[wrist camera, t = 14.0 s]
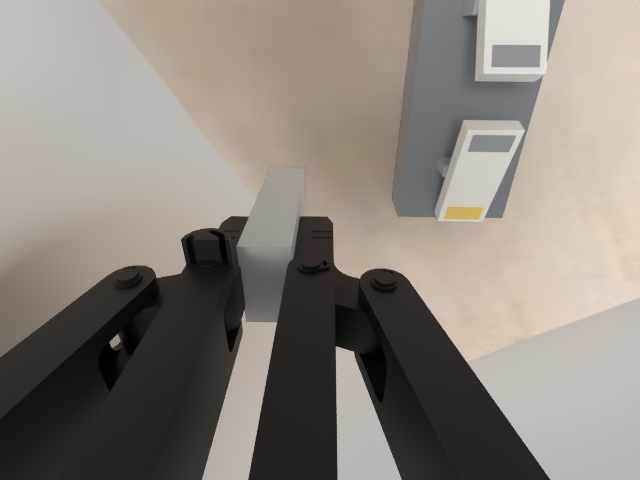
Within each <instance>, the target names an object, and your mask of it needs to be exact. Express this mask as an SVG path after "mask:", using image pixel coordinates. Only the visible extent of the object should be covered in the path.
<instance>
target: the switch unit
mask: <svg viewBox="0 0 640 480" xmlns="http://www.w3.org/2000/svg"><path fill="white" fill-rule="evenodd" d="M564 1H565V0H550V13H549V32H548V50H547V60H548V56H549V53H550V50H551V46H552V43H553V39H554V36H555V32H556V29H557V25H558V22H559V18H560V15H561V11H562V8H563V4H564ZM477 21H478V0H414V8H413V17H412V26H411V35H410V43H409V52H408V61H407V70H406V78H405V87H404V96H403V105H402V114H401V122H400V131H399V140H398V149H397V158H396V166H395V175H394V184H393V193H392V201H393V204H394V206H395V209H396V212H397V215H398V216H410V217H436V214H435V208H436V205H437V202H438V199H439V196H440V193H441V189H442V186H443V183H444V180H445V177H446V174H447V171H448V167H449V164H450V161H451V158H452V155H453V152H454V149H455V145H456V142H457V139H458V136H459V133H460V130H461V127H462V123H463V120H515V121H519V122H520V123H521V125H522V126H523V128H524V130H525V132H524V134H523V136H522V138H521V140H520V142H519V144H518V147H517V149H516V151H515V153H514V155H513V157H512V159H511V162H510V164H509V166H508V168H507V170H506V172H505V175H504V177H503V179H502V181H501V183H500V185H499V187H498V190H497V192H496V194H495V196H494V198H493V200H492V202H491V205H490V207H489V209H488V211H487V213H486V215H485V217H484V218H502V216H503V213H504V209H505V206H506V202H507V199H508V195H509V192H510V188H511V185H512V182H513V178H514V175H515V171H516V168H517V164H518V161H519V157H520V154H521V150H522V147H523V143H524V140H525V136H526V133H527V129H528V126H529V122H530V119H531V116H532V112H533V109H534V105H535V102H536V98H537V95H538V91H539V88H540V84H541V81H542V77H541V78H540V79H538V80H536V81H535V82H495V81H475V69H476V45H477Z"/></svg>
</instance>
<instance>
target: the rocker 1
mask: <svg viewBox="0 0 640 480" xmlns="http://www.w3.org/2000/svg"><path fill="white" fill-rule="evenodd" d="M549 13H550V0H478V21H477V45H476V69H475V81H495V82H535V81H536V80H538V79H540V78H541V77H543V76H544V75H546V69H547V50H548V32H549Z"/></svg>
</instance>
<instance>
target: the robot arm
mask: <svg viewBox="0 0 640 480" xmlns="http://www.w3.org/2000/svg"><path fill="white" fill-rule="evenodd" d="M181 242H182V247H183V251H184V255H185V260H186V266H185V268H184V270H183V271H182V273H181V274H178V275H172V276H167V277H161V278H156V275H155V272H154V271H153V269H152V268H149V267H147V266H128V267H124V268H122V269H119V270H117V271H115V272H113V273H111V274H110V275H108V276H107V277H105V278H104V279H103V280H101V281H100V282H99V283H97V284H96V285H95V286H93V287H92V288H91V289H89V290H88V291H87V292H86V293H84V294H83V295H82V296H80V297H79V298H78V299H77V300H75V301H74V302H73V303H71V304H70V305H69V306H67V307H66V308H65V309H63V310H62V311H61V312H59V313H58V314H57V315H55V316H54V317H53V318H52V319H50V320H49V321H48V322H46V323H45V324H44V325H42V326H41V327H40V328H39V329H37V330H36V331H35V332H33V333H32V334H31V335H29V336H28V337H27V338H25V339H24V340H23V341H21V342H20V343H19V344H17V345H16V346H15V347H14V348H12V349H11V350H10V351H8V352H7V353H6V354H4V355H3V356H2V357H0V480H202V477H203V473H204V470H205V466H206V463H207V459H208V455H209V452H210V448H211V445H212V441H213V437H214V434H215V431H216V427H217V423H218V420H219V416H220V412H221V409H222V406H223V402H224V398H225V395H226V391H227V388H228V384H229V380H230V377H231V373H232V370H233V366H234V363H235V359H236V356H237V352H238V348H239V344H240V341H241V338H242V333H243V332H242V331H243V330H242V329H243V328H242V322H241V319H242V316H243V312H244V309H245V317H246V322H277V326H276V331H275V337H274V342H273V348H272V353H271V359H270V364H269V370H268V375H267V381H266V386H265V392H264V397H263V403H262V408H261V413H260V419H259V425H258V430H257V435H256V441H255V446H254V452H253V457H252V463H251V469H250V474H249V479H248V480H337V418H336V417H337V415H336V346H337V347H341V348H344V349H347V350H350V351H354V353H355V358H356V361H357V364H358V366H359V369H360V372H361V374H362V377H363V379H364V382H365V385H366V387H367V390H368V392H369V395H370V398H371V400H372V403H373V405H374V408H375V411H376V413H377V416H378V419H379V421H380V424H381V426H382V429H383V432H384V434H385V437H386V439H387V442H388V445H389V447H390V450H391V452H392V455H393V458H394V460H395V463H396V465H397V468H398V471H399V473H400V476H401V478H402V480H550V479H549V477H548V476H547V475H546V473H545V472H544V470H543V469H542V468H541V466H540V465H539V463H538V462H537V460H536V459H535V458H534V456H533V455H532V454H531V452H530V451H529V449H528V448H527V446H526V445H525V444H524V442H523V441H522V439H521V438H520V437H519V435H518V434H517V433H516V431H515V430H514V428H513V427H512V425H511V424H510V422H509V421H508V420H507V418H506V417H505V415H504V414H503V413H502V411H501V410H500V408H499V407H498V406H497V404H496V403H495V401H494V400H493V399H492V397H491V396H490V394H489V393H488V392H487V390H486V389H485V387H484V386H483V384H482V383H481V382H480V380H479V379H478V378H477V376H476V375H475V373H474V372H473V370H472V369H471V368H470V366H469V365H468V363H467V362H466V361H465V359H464V358H463V356H462V355H461V354H460V352H459V351H458V349H457V348H456V346H455V345H454V344H453V342H452V341H451V339H450V338H449V337H448V335H447V334H446V332H445V331H444V330H443V328H442V327H441V325H440V324H439V323H438V321H437V320H436V318H435V317H434V316H433V314H432V313H431V311H430V310H429V308H428V307H427V306H426V304H425V303H424V301H423V300H422V299H421V297H420V296H419V294H418V293H417V292H416V290H415V289H414V287H413V286H412V285H411V283H410V282H409V280H408V279H407V278H406V277H405V276H404V275H403V274H400V273H398V272H396V271H394V270H390V269H373V270H369V271H367V272H365V273H364V274H362V276H361V278H360V279H358V278H354V277H351V276H347V275H345V274H343V273H341V272H340V271H339V270H338V269H337V268H336V267H335V265H334V258H333V223H332V222H331V221H330V220H329V218H328V217H307V216H306V184H305V167H270V169H269V171H268V173H267V176H266V178H265V181H264V183H263V185H262V188H261V190H260V192H259V195H258V197H257V199H256V202H255V204H254V206H253V209H252V211H251V213H250V216H249V217H239V216H231V217H229V218H228V219H227V220H225V221H224V222H222V224H221V225H220V227H219V229H215V228H208V229H200V230H196V231H193V232H191V233H189V234H187V235H185V236H184V237H183V238H182V239H181ZM117 334H118V335H119V337H120V340H121V342H120V343H119V344H118V345H117V346H115V347H114V348H111V346H110V343H109V342H110V340H112V339H113V338H114V337H115V336H116V335H117Z"/></svg>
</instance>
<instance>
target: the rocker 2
mask: <svg viewBox="0 0 640 480" xmlns="http://www.w3.org/2000/svg"><path fill="white" fill-rule="evenodd" d="M524 132H525V130H524V128H523V126H522V125H521V123H520V122H519V121H515V120H463V123H462V127H461V130H460V133H459V136H458V139H457V142H456V145H455V149H454V152H453V155H452V158H451V161H450V164H449V167H448V171H447V174H446V177H445V180H444V183H443V186H442V189H441V193H440V196H439V199H438V202H437V205H436V208H435V214H436V218H437V221H455V222H483V220H484V217H485V215H486V213H487V211H488V209H489V207H490V205H491V202H492V200H493V198H494V196H495V194H496V192H497V190H498V187H499V185H500V183H501V181H502V179H503V177H504V175H505V172H506V170H507V168H508V166H509V164H510V162H511V159H512V157H513V155H514V153H515V151H516V149H517V147H518V144H519V142H520V140H521V138H522V136H523V134H524Z"/></svg>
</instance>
